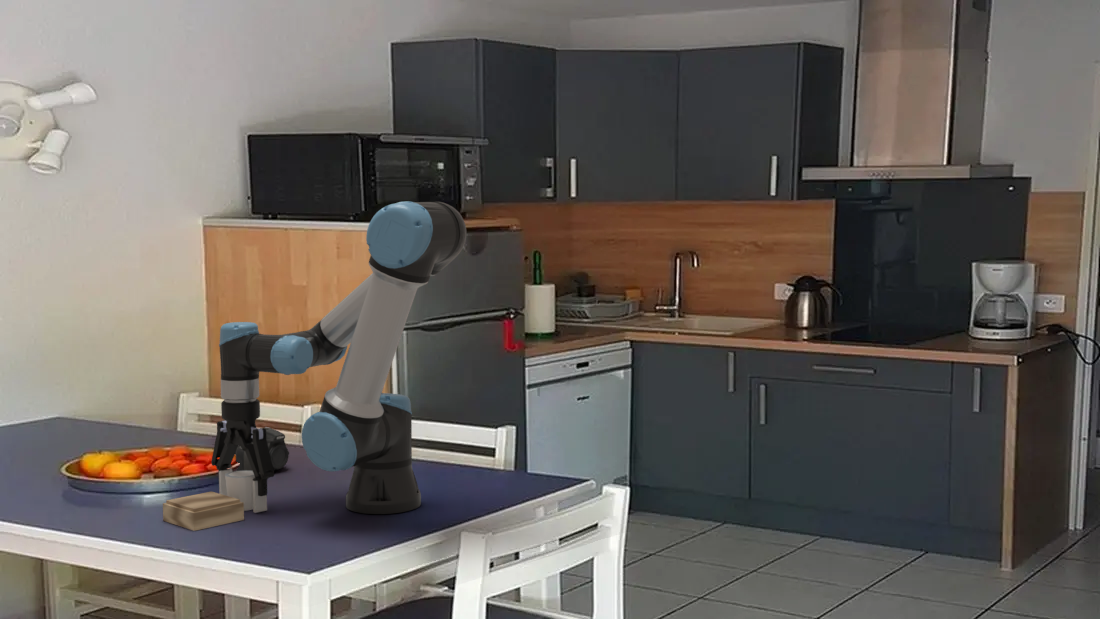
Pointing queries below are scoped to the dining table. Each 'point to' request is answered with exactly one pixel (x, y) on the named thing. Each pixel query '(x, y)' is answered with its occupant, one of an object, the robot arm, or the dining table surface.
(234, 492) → the shot glass
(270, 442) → the camera
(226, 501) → the stand
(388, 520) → the dining table surface
